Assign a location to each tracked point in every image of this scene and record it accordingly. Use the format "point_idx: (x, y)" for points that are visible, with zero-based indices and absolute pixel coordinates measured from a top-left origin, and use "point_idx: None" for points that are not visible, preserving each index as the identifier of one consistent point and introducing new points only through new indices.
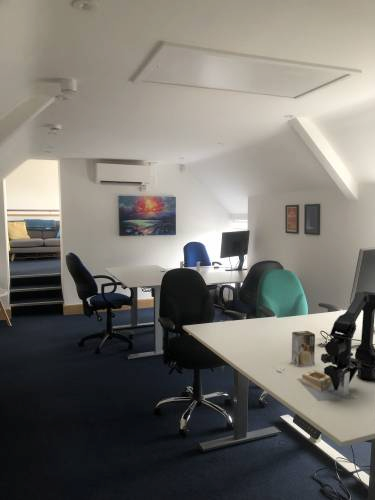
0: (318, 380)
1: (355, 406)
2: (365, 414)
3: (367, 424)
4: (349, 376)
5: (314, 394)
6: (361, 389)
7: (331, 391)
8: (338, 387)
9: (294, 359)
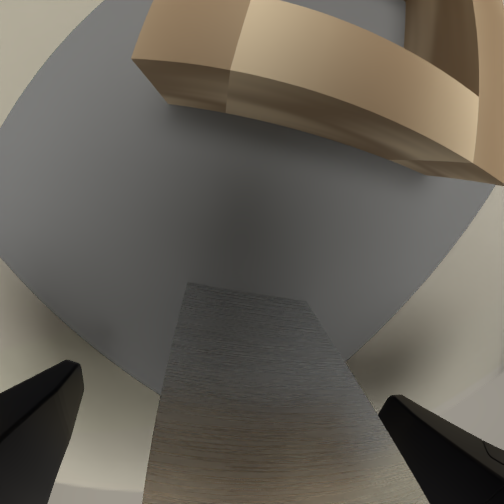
0: (162, 2)
1: (127, 447)
2: (91, 477)
3: None
4: (427, 493)
5: (35, 106)
6: (440, 383)
7: (246, 225)
8: (65, 438)
9: None
